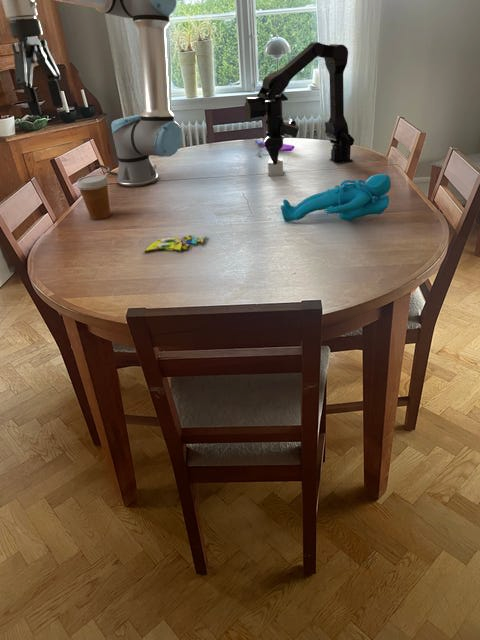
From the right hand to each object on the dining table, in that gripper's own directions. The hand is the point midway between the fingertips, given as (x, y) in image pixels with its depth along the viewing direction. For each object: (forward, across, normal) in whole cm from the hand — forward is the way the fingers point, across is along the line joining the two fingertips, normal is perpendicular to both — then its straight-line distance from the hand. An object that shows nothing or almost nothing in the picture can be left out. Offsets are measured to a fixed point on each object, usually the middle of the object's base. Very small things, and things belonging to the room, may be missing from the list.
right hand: (276, 161), depth 176 cm
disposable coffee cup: (+5, -38, +55) cm, 67 cm away
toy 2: (+5, -48, -19) cm, 51 cm away
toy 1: (+5, -62, +24) cm, 67 cm away
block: (+5, 0, 0) cm, 5 cm away
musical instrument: (+5, +36, +6) cm, 36 cm away
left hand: (-29, -45, +59) cm, 80 cm away
